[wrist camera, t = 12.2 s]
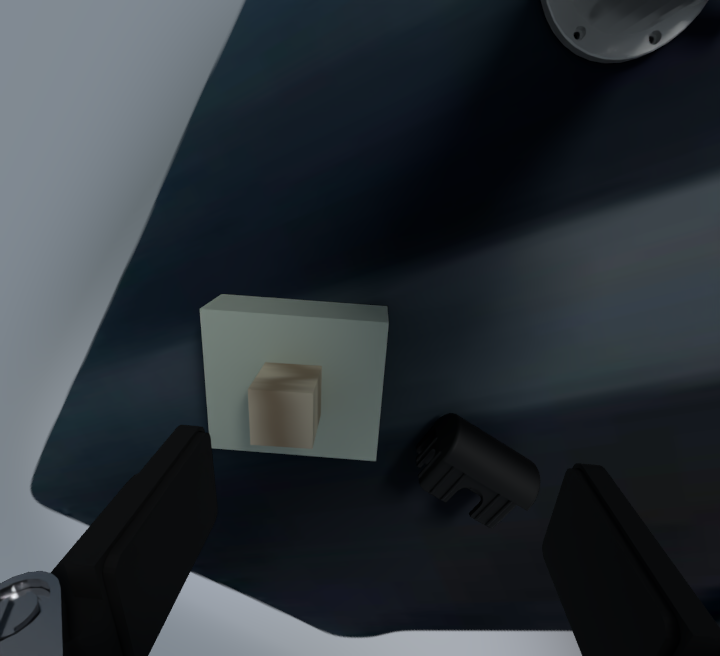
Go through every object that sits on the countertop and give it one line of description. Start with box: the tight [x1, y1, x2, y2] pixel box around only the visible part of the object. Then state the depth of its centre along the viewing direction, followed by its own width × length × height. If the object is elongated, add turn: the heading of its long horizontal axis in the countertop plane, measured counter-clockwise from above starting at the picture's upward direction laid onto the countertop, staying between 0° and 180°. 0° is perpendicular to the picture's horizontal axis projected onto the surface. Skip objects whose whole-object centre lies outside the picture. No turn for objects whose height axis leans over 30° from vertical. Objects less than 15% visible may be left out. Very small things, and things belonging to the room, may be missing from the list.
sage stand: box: [200, 294, 389, 461], centre depth 38 cm, size 16×14×5 cm
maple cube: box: [248, 362, 322, 449], centre depth 33 cm, size 5×5×5 cm
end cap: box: [416, 413, 540, 529], centre depth 39 cm, size 10×7×7 cm
